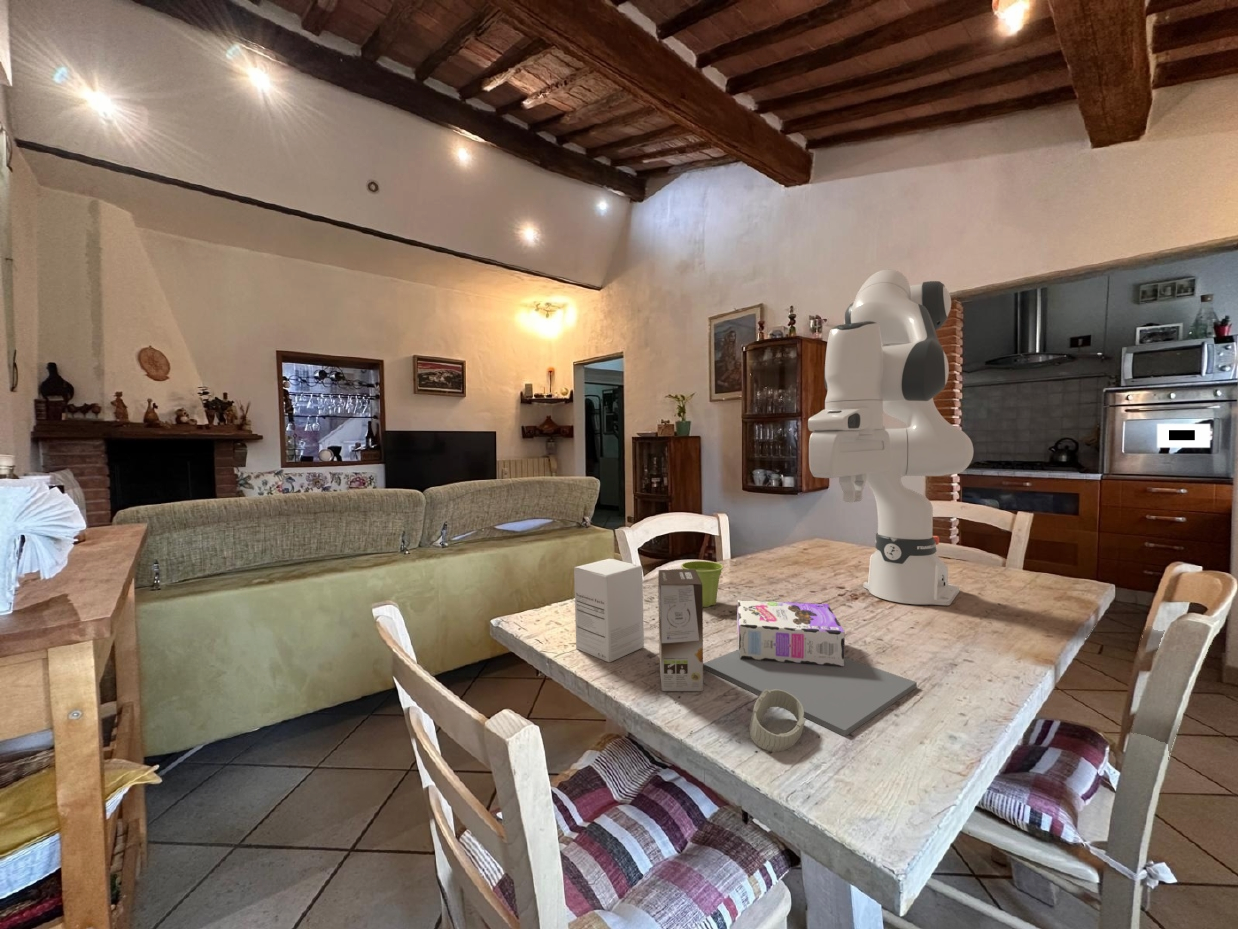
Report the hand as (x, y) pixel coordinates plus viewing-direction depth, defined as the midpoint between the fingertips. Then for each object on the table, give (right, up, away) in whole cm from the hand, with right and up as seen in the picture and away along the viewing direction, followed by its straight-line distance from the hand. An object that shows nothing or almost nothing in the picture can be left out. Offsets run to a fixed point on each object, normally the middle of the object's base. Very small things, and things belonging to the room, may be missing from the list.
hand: (852, 501), depth 85 cm
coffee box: (-30, -27, -7) cm, 41 cm away
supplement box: (-41, -27, +5) cm, 49 cm away
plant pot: (-21, -26, +29) cm, 44 cm away
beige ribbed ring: (-20, -28, -22) cm, 40 cm away
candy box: (-2, -23, +1) cm, 23 cm away
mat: (-11, -27, -7) cm, 30 cm away
